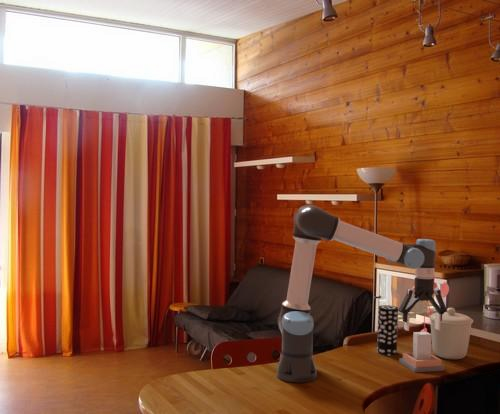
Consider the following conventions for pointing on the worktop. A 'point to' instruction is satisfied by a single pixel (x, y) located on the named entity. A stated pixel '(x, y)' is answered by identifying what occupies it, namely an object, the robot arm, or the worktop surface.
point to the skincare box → (422, 346)
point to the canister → (451, 335)
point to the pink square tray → (421, 363)
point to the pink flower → (443, 290)
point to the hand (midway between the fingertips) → (421, 329)
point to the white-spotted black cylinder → (387, 330)
